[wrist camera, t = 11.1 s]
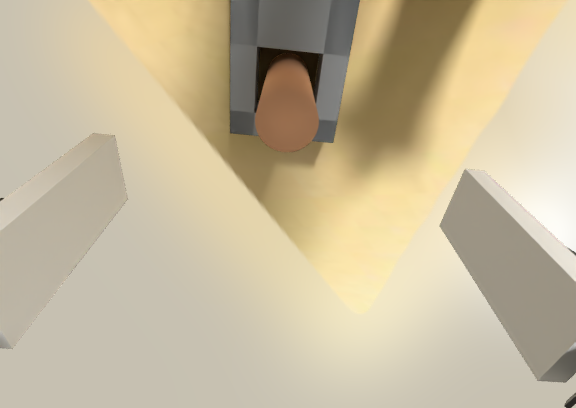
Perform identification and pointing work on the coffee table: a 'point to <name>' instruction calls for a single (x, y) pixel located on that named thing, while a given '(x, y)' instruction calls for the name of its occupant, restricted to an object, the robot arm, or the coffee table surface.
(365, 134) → the coffee table surface
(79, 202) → the robot arm
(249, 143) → the coffee table surface
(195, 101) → the coffee table surface
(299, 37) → the socket board
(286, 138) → the dowel
